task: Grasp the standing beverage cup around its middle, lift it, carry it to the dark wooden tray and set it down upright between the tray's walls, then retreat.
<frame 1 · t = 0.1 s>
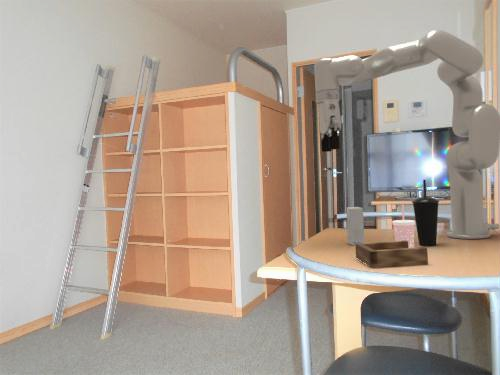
hand: (330, 150, 129), 31 cm above the table, fingers open, 9 cm apart
dark wooden tray: (390, 261, 102), on the table
drinking cup: (427, 245, 120), on the table
beverage cup: (405, 253, 111), on the table
skincare box: (356, 244, 130), on the table
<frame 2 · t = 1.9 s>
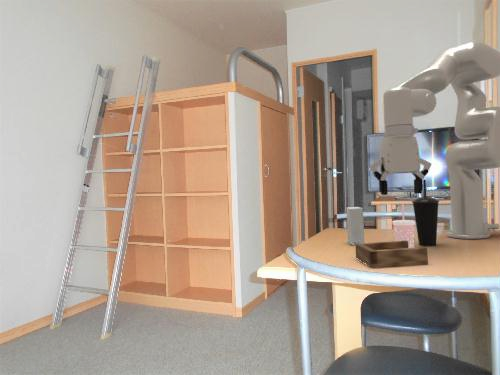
hand: (401, 194, 110), 17 cm above the table, fingers open, 9 cm apart
nothing on the table moved.
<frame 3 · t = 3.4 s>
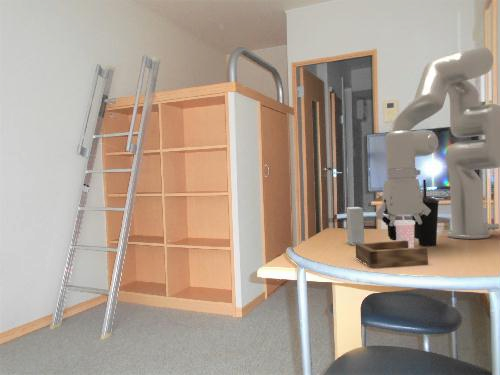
hand: (404, 238, 111), 4 cm above the table, fingers closed on beverage cup, 6 cm apart
beverage cup: (405, 253, 111), on the table, touching gripper
everything else where it was.
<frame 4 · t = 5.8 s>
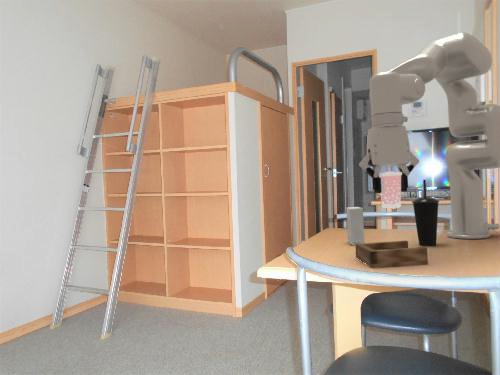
hand: (390, 191, 101), 18 cm above the table, fingers closed on beverage cup, 6 cm apart
beverage cup: (391, 208, 101), point 14 cm above the table, touching gripper
everything else where it was.
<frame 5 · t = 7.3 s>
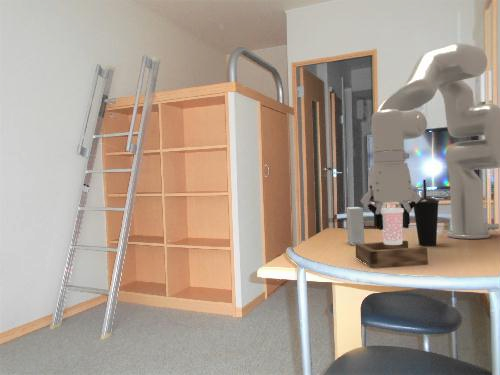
hand: (392, 227, 101), 9 cm above the table, fingers closed on beverage cup, 6 cm apart
beverage cup: (393, 244, 102), point 4 cm above the table, touching gripper
everything else where it was.
when the fingers open (6 cm above the table, at t = 8.3 s): beverage cup drops 1 cm, resting on dark wooden tray.
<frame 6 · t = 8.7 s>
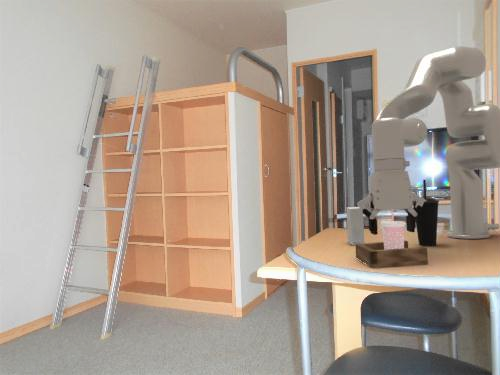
hand: (392, 232, 101), 7 cm above the table, fingers open, 9 cm apart
beverage cup: (394, 257, 102), point 1 cm above the table, touching dark wooden tray
everything else where it was.
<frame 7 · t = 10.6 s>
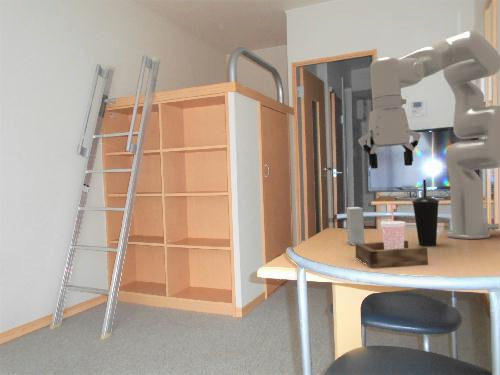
hand: (391, 166, 109), 24 cm above the table, fingers open, 9 cm apart
nothing on the table moved.
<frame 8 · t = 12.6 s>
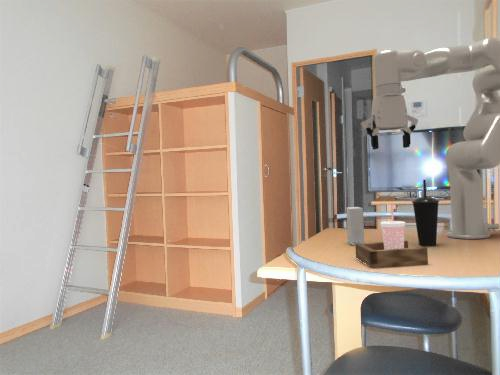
hand: (391, 148, 121), 30 cm above the table, fingers open, 9 cm apart
nothing on the table moved.
at the end: beverage cup inside the target area on the dark wooden tray (0.6 cm from its centre), point 0.8 cm above the dark wooden tray's base; beverage cup tilted 0°; the gripper is holding nothing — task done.
